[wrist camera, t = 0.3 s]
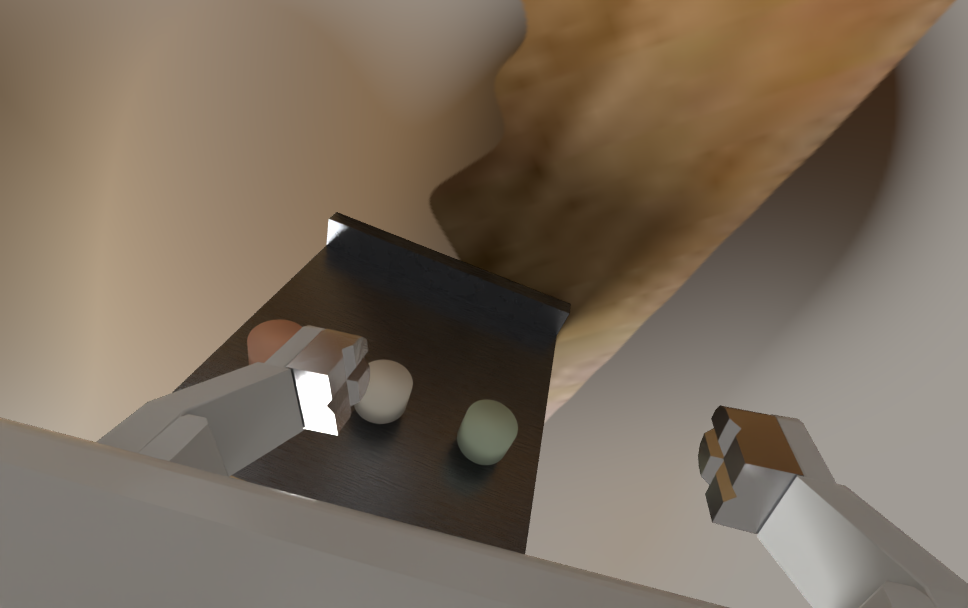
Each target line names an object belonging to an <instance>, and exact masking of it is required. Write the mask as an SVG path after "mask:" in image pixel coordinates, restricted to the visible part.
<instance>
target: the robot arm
mask: <svg viewBox="0 0 968 608" xmlns="http://www.w3.org/2000/svg"><path fill="white" fill-rule="evenodd" d="M367 352H368V345H367V340H366V339H365V338H364V337H362V336H358V335H353V334H349V333H344V332H339V331H335V330H330V329H324V328H319V327H315V326H310V325H308V326H304V327H302V328H301V329H300V330H299V331H298V332H297V333H296V334H295V335H294V336H293V337H291V338H290V339H289V340H288V341H287V342H286V343H285V344H284V345H283V346H282V347H281V348H280V349H279V350H278V351H276V352H275V353H274V354H273V355H272V356H271V357H270V358H269V359H268V360H267V361H266V362H265V363H261V362H257V363H254V364H251V365H248V366H246V367H243V368H240V369H237V370H235V371H232V372H229V373H226V374H223V375H221V376H218V377H215V378H212V379H210V380H207V381H204V382H201V383H199V384H196V385H193V386H190V387H187V388H185V389H182V390H179V391H176V392H174V393H171V394H168V395H166V396H163V397H160V398H157V399H154V400H152V401H149V402H147V403H145V404H144V405H143V406H142V407H141V408H139V409H138V410H136V411H135V412H134V413H133V414H131V415H130V416H129V417H128V418H126V419H125V420H124V421H123V422H121V423H120V424H119V425H117V426H116V427H115V428H114V429H112V430H111V431H110V432H108V433H107V434H106V435H104V436H103V437H102V438H101V439H99V440H98V441H97V442H93V441H89V440H85V439H81V438H77V437H74V436H70V435H66V434H62V433H59V432H55V431H51V430H47V429H43V428H39V427H35V426H32V425H28V424H24V423H20V422H16V421H12V420H9V419H5V418H1V417H0V608H728V607H724V606H721V605H717V604H713V603H709V602H705V601H702V600H698V599H694V598H690V597H686V596H682V595H678V594H675V593H671V592H667V591H663V590H659V589H656V588H651V587H648V586H644V585H640V584H636V583H633V582H629V581H625V580H621V579H617V578H613V577H609V576H606V575H602V574H598V573H594V572H590V571H587V570H582V569H578V568H575V567H571V566H567V565H563V564H559V563H556V562H552V561H548V560H544V559H540V558H537V557H533V556H528V555H525V554H521V553H518V552H514V551H510V550H506V549H502V548H499V547H495V546H491V545H487V544H483V543H479V542H476V541H472V540H468V539H464V538H460V537H457V536H453V535H449V534H445V533H441V532H437V531H434V530H430V529H426V528H422V527H418V526H415V525H411V524H407V523H403V522H399V521H395V520H392V519H388V518H384V517H380V516H376V515H372V514H369V513H365V512H361V511H357V510H353V509H350V508H346V507H342V506H338V505H334V504H330V503H327V502H323V501H319V500H315V499H311V498H307V497H304V496H300V495H296V494H292V493H288V492H284V491H281V490H277V489H273V488H269V487H265V486H262V485H258V484H254V483H250V482H246V481H242V480H239V479H235V478H231V477H229V476H231V475H233V474H234V473H236V472H237V471H239V470H241V469H242V468H244V467H246V466H247V465H249V464H250V463H252V462H254V461H255V460H257V459H258V458H260V457H262V456H263V455H265V454H266V453H268V452H270V451H271V450H273V449H275V448H276V447H278V446H279V445H281V444H283V443H284V442H286V441H287V440H289V439H291V438H292V437H294V436H295V435H297V434H299V433H300V432H302V431H303V430H304V428H305V429H310V430H315V431H319V432H324V433H329V434H334V435H338V433H339V432H340V431H341V429H342V428H343V426H344V425H345V423H346V422H347V420H348V419H349V417H350V416H351V409H350V407H351V406H353V405H355V404H357V403H359V402H360V401H361V399H362V398H363V396H364V395H365V393H366V390H367V388H368V385H369V381H370V365H369V364H368V362H367V361H366V360H365V358H364V356H365V355H366V353H367ZM711 419H712V422H713V426H714V428H713V429H711V430H710V431H707V432H706V433H704V436H703V438H702V441H701V443H700V447H699V454H698V460H699V469H700V474H701V477H702V478H703V479H704V480H705V481H706V482H707V483H708V484H709V485H710V486H709V488H708V490H707V492H706V494H705V495H706V499H707V503H708V507H709V511H710V515H711V519H712V523H716V524H720V525H723V526H727V527H731V528H735V529H739V530H743V531H746V532H750V533H754V534H758V535H757V537H758V539H759V540H760V541H761V542H762V544H763V545H764V546H765V548H766V549H767V550H768V551H769V553H770V554H771V555H772V556H773V558H774V559H775V560H776V562H777V563H778V564H779V565H780V567H781V568H782V569H783V570H784V572H785V573H786V574H787V576H788V577H789V578H790V580H791V581H792V582H793V583H794V585H795V586H796V587H797V588H798V590H799V591H800V592H801V593H802V595H803V596H804V597H805V599H806V600H807V601H808V602H809V604H810V605H811V606H812V608H968V583H966V582H965V581H964V580H963V579H961V578H960V577H959V576H958V575H956V574H955V573H954V572H952V571H951V570H950V569H949V568H948V567H946V566H945V565H944V564H943V563H941V562H940V561H939V560H938V559H936V558H935V557H934V556H933V555H931V554H930V553H929V552H928V551H926V550H925V549H924V548H923V547H921V546H920V545H919V544H918V543H916V542H915V541H914V540H913V539H911V538H910V537H909V536H908V535H906V534H905V533H904V532H903V531H901V530H900V529H899V528H898V527H896V526H895V525H894V524H893V523H891V522H890V521H889V520H888V519H886V518H885V517H884V516H883V515H881V514H880V513H879V512H878V511H876V510H875V509H874V508H873V507H871V506H870V505H869V504H868V503H866V502H865V501H864V500H862V499H861V498H860V497H859V496H858V495H856V494H855V493H854V492H852V491H851V490H850V489H849V488H848V487H846V486H844V485H840V484H837V483H836V482H835V480H834V478H833V476H832V474H831V473H830V471H829V469H828V467H827V465H826V464H825V462H824V460H823V458H822V456H821V455H820V453H819V451H818V449H817V447H816V446H815V444H814V442H813V440H812V438H811V436H810V435H809V433H808V431H807V429H806V428H805V426H804V424H803V423H802V422H801V421H800V420H799V419H796V418H790V417H783V416H778V415H768V414H763V413H758V412H753V411H748V410H742V409H737V408H732V407H726V406H721V405H720V406H719V407H718V408H717V409H716V410H715V412H714V414H713V416H712V418H711Z"/></svg>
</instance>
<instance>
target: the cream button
mask: <svg viewBox="0 0 968 608" xmlns="http://www.w3.org/2000/svg"><path fill="white" fill-rule="evenodd" d="M368 364H369V365H370V381H369V385H368V388H367V390H366V393H365V395H364V396H363V398H362V399H361V401H360V402H359V403H357V404H355V405H354V407H355V410H356V411H357V413H358V414H359V415H360V416H361V417H362V418H363V419H365V420H367V421H369V422H372V423H376V424H386V423H390V422H393V421H395V420H397V419H398V418H400V417H401V416H402V414H403V413H404V411H405V409H406V406H407V403H408V400H409V397H410V394H411V390H412V386H413V380H412V376H411V374H410V373H409V371H408V370H407V369H406V368H405V367H404V366H403V365H401V364H399V363H397V362H395V361H391V360H375V361H372V362H370V363H368Z"/></svg>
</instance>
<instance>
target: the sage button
mask: <svg viewBox="0 0 968 608" xmlns="http://www.w3.org/2000/svg"><path fill="white" fill-rule="evenodd" d="M517 433H518V425H517V421H516V418H515V416H514V415H513V413H512V412H511V411H510V410H509V409H508V408H507V407H506V406H505V405H503V404H501V403H499V402H497V401H494V400H479V401H477V402H475V403H473V404H472V405H471V406H470V407H469V408H468V410H467V412H466V414H465V417H464V419H463V421H462V423H461V425H460V427H459V429H458V432H457V443H458V446H459V448H460V450H461V452H462V453H463V454H464V455H465V456H466V457H467V458H468V459H469V460H471V461H472V462H474V463H477V464H480V465H492V464H495V463H497V462H499V461H500V460H501V459H502V458H503V457H504V455H505V454H506V452H507V451H508V449H509V447H510V446H511V444H512V443H513V441H514V440H515V438H516V436H517Z"/></svg>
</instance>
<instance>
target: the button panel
mask: <svg viewBox="0 0 968 608" xmlns="http://www.w3.org/2000/svg"><path fill="white" fill-rule="evenodd" d="M569 313H570V304H569V303H566V302H564V301H561V300H559V299H556V298H554V297H551V296H549V295H546V294H543V293H541V292H538V291H536V290H533V289H531V288H528V287H526V286H523V285H521V284H518V283H515V282H513V281H510V280H508V279H505V278H503V277H500V276H498V275H495V274H493V273H490V272H488V271H485V270H482V269H480V268H477V267H475V266H472V265H470V264H467V263H465V262H462V261H460V260H457V259H455V258H452V257H449V256H447V255H444V254H442V253H439V252H437V251H434V250H431V249H429V248H427V247H424V246H422V245H419V244H416V243H414V242H411V241H409V240H406V239H404V238H401V237H399V236H396V235H394V234H391V233H388V232H386V231H383V230H381V229H378V228H376V227H373V226H371V225H368V224H366V223H363V222H361V221H358V220H355V219H353V218H350V217H348V216H345V215H343V214H340V213H338V212H336V213H335V214H334V215H333V216H332V217H330V218H329V223H328V237H327V245H326V246H325V247H324V248H323V249H322V250H321V251H320V252H319V253H318V254H317V255H316V256H315V257H314V258H313V259H312V260H311V261H310V262H309V263H308V264H307V265H305V266H304V267H303V268H302V269H301V270H300V271H299V272H298V273H297V274H296V275H295V276H294V277H293V278H292V279H291V280H290V281H289V282H288V283H287V284H285V285H284V286H283V287H282V288H281V289H280V290H279V291H278V292H277V293H276V294H275V295H274V296H273V297H272V298H271V299H270V300H269V301H268V302H267V303H266V304H264V305H263V306H262V307H261V308H260V309H259V310H258V311H257V312H256V313H255V314H254V315H253V316H252V317H251V318H250V319H249V320H248V321H247V322H246V323H245V324H244V325H242V326H241V327H240V328H239V329H238V330H237V331H236V332H235V333H234V334H233V335H232V336H231V337H230V338H229V339H228V340H227V341H226V342H225V343H224V344H223V345H222V346H220V347H219V348H218V349H217V350H216V351H215V352H214V353H213V354H212V355H211V356H210V357H209V358H208V359H207V360H206V361H205V362H204V363H203V364H202V365H201V366H200V367H199V368H197V369H196V370H195V371H194V372H193V373H192V374H191V375H190V376H189V377H188V378H187V379H186V380H185V381H184V382H183V383H182V384H181V385H180V386H179V387H178V388H176V389H175V391H173V392H172V393H174V392H176V391H179V390H182V389H185V388H187V387H190V386H193V385H196V384H199V383H201V382H204V381H207V380H210V379H212V378H215V377H218V376H221V375H223V374H226V373H229V372H232V371H235V370H237V369H240V368H243V367H246V366H248V365H249V359H248V346H247V338H248V335H249V333H250V332H251V330H252V329H253V328H255V327H256V326H257V325H259V324H261V323H263V322H266V321H270V320H278V319H281V320H289V321H292V322H295V323H297V324H299V325H300V326H302V327H304V326H308V325H310V326H315V327H319V328H324V329H330V330H335V331H339V332H344V333H349V334H353V335H358V336H362V337H364V338H365V339H366V340H367V345H368V352H367V353H366V355H365V356H364V358H365V360H366V361H367V362H368V363H370V362H372V361H375V360H391V361H395V362H397V363H399V364H401V365H403V366H404V367H405V368H406V369H407V370H408V371H409V373H410V374H411V376H412V380H413V386H412V390H411V394H410V397H409V400H408V403H407V406H406V409H405V411H404V413H403V414H402V416H401V417H400V418H398V419H397V420H395V421H393V422H390V423H386V424H376V423H372V422H369V421H367V420H365V419H363V418H362V417H361V416H360V415H359V414H358V413H357V411H356V410H355V407H354V405H353V406H351V407H350V409H351V416H350V417H349V419H348V420H347V422H346V423H345V425H344V426H343V428H342V429H341V431H340V432H339V433H338V435H334V434H329V433H324V432H319V431H315V430H310V429H305V428H304V430H303V431H302V432H300V433H299V434H297V435H295V436H294V437H292V438H291V439H289V440H287V441H286V442H284V443H283V444H281V445H279V446H278V447H276V448H275V449H273V450H271V451H270V452H268V453H266V454H265V455H263V456H262V457H260V458H258V459H257V460H255V461H254V462H252V463H250V464H249V465H247V466H246V467H244V468H242V469H241V470H239V471H237V472H236V473H234V474H233V475H231V476H229V477H231V478H235V479H239V480H242V481H246V482H250V483H254V484H258V485H262V486H265V487H269V488H273V489H277V490H281V491H284V492H288V493H292V494H296V495H300V496H304V497H307V498H311V499H315V500H319V501H323V502H327V503H330V504H334V505H338V506H342V507H346V508H350V509H353V510H357V511H361V512H365V513H369V514H372V515H376V516H380V517H384V518H388V519H392V520H395V521H399V522H403V523H407V524H411V525H415V526H418V527H422V528H426V529H430V530H434V531H437V532H441V533H445V534H449V535H453V536H457V537H460V538H464V539H468V540H472V541H476V542H479V543H483V544H487V545H491V546H495V547H499V548H502V549H506V550H510V551H514V552H518V553H521V554H525V550H526V543H527V537H528V530H529V523H530V516H531V509H532V502H533V496H534V489H535V482H536V474H537V468H538V461H539V454H540V447H541V440H542V433H543V426H544V420H545V413H546V406H547V399H548V392H549V385H550V378H551V371H552V364H553V357H554V350H555V344H556V337H557V334H558V332H559V331H560V329H561V327H562V325H563V324H564V322H565V320H566V319H567V317H568V315H569ZM479 400H494V401H497V402H499V403H501V404H503V405H505V406H506V407H507V408H508V409H509V410H510V411H511V412H512V413H513V415H514V416H515V418H516V421H517V425H518V433H517V436H516V438H515V440H514V441H513V443H512V444H511V446H510V447H509V449H508V451H507V452H506V454H505V455H504V457H503V458H502V459H501V460H500V461H499V462H497V463H495V464H492V465H480V464H477V463H474V462H472V461H471V460H469V459H468V458H467V457H466V456H465V455H464V454H463V453H462V452H461V450H460V448H459V446H458V443H457V432H458V429H459V427H460V425H461V423H462V421H463V419H464V417H465V414H466V412H467V410H468V408H469V407H470V406H471V405H472V404H473V403H475V402H477V401H479Z"/></svg>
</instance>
